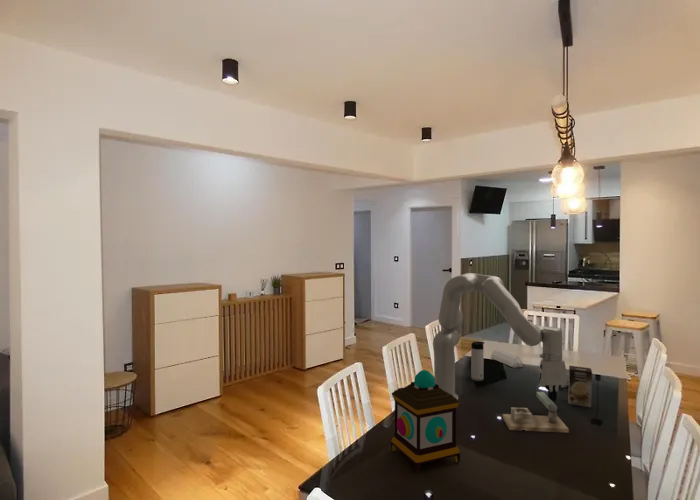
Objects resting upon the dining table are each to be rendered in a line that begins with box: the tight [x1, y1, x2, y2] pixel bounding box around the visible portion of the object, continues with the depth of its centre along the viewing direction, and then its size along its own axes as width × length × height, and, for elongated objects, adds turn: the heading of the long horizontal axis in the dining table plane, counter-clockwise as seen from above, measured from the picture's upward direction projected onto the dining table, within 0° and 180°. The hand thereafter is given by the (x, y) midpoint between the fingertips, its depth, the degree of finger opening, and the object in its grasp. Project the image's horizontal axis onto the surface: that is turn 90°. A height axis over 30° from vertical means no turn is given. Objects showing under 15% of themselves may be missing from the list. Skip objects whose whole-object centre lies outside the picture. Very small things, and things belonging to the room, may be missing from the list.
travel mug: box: [470, 341, 485, 382], centre depth 235 cm, size 6×7×20 cm
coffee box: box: [567, 365, 593, 408], centre depth 200 cm, size 9×6×16 cm
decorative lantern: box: [390, 369, 461, 473], centre depth 152 cm, size 20×20×30 cm
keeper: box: [535, 391, 558, 413], centre depth 184 cm, size 3×18×2 cm, turn 174°
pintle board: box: [502, 410, 570, 434], centre depth 178 cm, size 22×12×6 cm, turn 83°
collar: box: [510, 406, 533, 424], centre depth 178 cm, size 6×6×4 cm
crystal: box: [491, 347, 524, 369], centre depth 266 cm, size 7×7×24 cm
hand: (552, 400), depth 186 cm, fingers closed
